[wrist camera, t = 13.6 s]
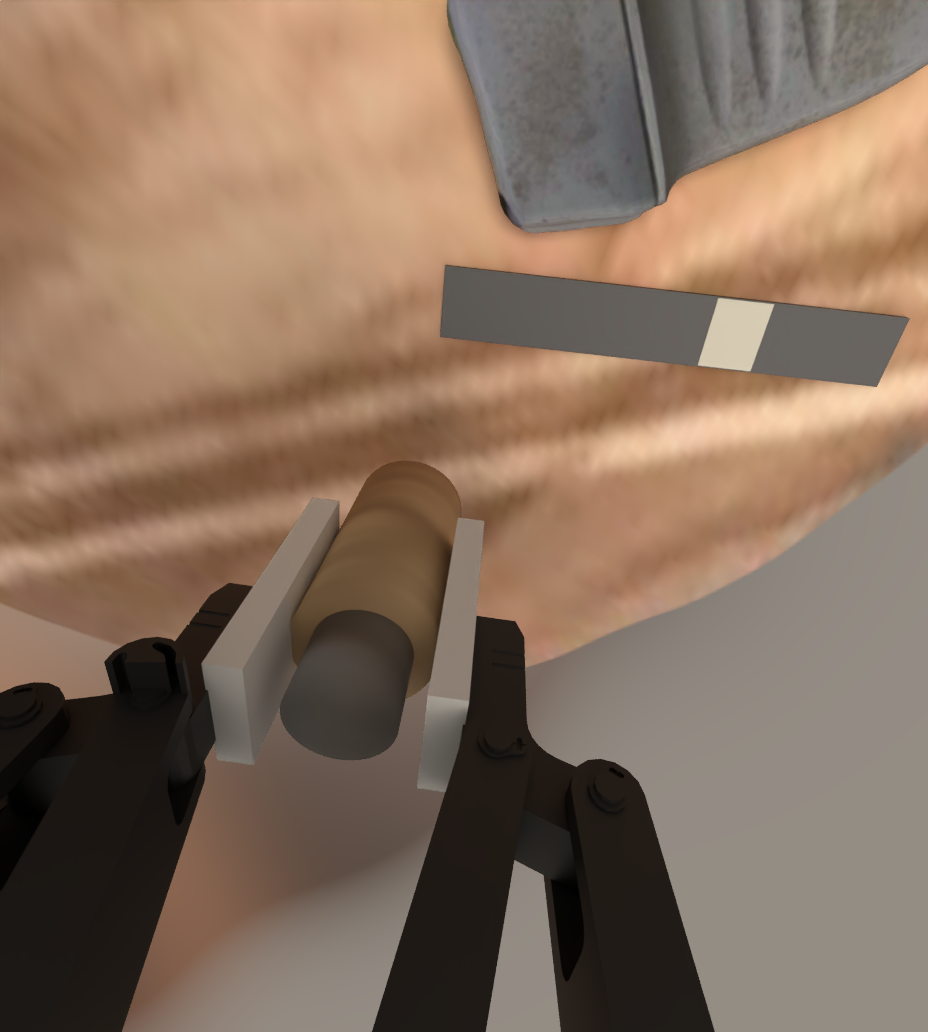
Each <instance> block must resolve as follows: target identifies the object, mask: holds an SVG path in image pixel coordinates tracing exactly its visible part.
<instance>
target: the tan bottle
mask: <svg viewBox="0 0 928 1032" xmlns="http://www.w3.org/2000/svg"><path fill="white" fill-rule="evenodd" d="M458 518H461V502H460V498H459V495H458V493H457V491H456V489H455V487H454V486H453V484H452V483H451V482H450V480H449V479H448V478H447V477H446V476H445V475H443V474H442V473H441V472H440V471H438V470H436V469H435V468H433V467H431V466H429V465H426V464H423V463H419V462H414V461H398V462H393V463H390V464H387V465H384V466H382V467H380V468H379V469H377V470H376V471H375V472H373V473H372V474H371V475H370V476H369V478H368V479H367V480H366V482H365V483H364V485H363V487H362V489H361V491H360V493H359V494H358V496H357V498H356V500H355V502H354V504H353V506H352V508H351V510H350V511H349V513H348V515H347V517H346V519H345V521H344V523H343V525H342V526H341V528H340V530H339V532H338V534H337V536H336V538H335V540H334V542H333V543H332V545H331V547H330V549H329V551H328V553H327V555H326V557H325V558H324V560H323V562H322V564H321V566H320V568H319V570H318V572H317V574H316V575H315V577H314V579H313V581H312V583H311V585H310V587H309V589H308V590H307V592H306V594H305V596H304V598H303V600H302V602H301V604H300V605H299V607H298V609H297V611H296V613H295V615H294V617H293V619H292V621H291V641H292V658H293V660H294V662H295V664H296V665H297V668H296V671H295V673H294V675H293V677H292V679H291V681H290V684H289V686H288V688H287V690H286V692H285V694H284V696H283V699H282V701H281V705H280V715H281V719H282V722H283V725H284V726H285V728H286V730H287V731H288V733H289V734H290V735H291V736H292V737H293V738H294V739H295V740H296V741H297V742H299V743H300V744H301V745H303V746H304V747H306V748H307V749H309V750H311V751H313V752H315V753H317V754H320V755H323V756H327V757H330V758H334V759H341V760H361V759H367V758H370V757H373V756H376V755H378V754H381V753H382V752H384V751H385V750H387V749H388V748H389V747H390V746H391V745H392V744H393V742H394V741H395V739H396V737H397V735H398V730H399V726H400V721H401V716H402V712H403V707H404V702H405V699H406V698H408V697H410V696H412V695H414V694H416V693H417V692H419V691H420V690H421V689H422V688H424V687H425V686H426V684H427V683H428V682H429V681H430V679H431V674H432V668H433V662H434V657H435V651H436V645H437V639H438V633H439V627H440V621H441V615H442V609H443V603H444V598H445V592H446V586H447V580H448V574H449V568H450V562H451V556H452V550H453V544H454V538H455V533H456V527H457V521H458Z"/></svg>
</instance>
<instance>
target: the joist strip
mask: <svg viewBox="0 0 928 1032" xmlns="http://www.w3.org/2000/svg"><path fill="white" fill-rule="evenodd" d="M909 319H910V318H907V317H901V316H892V315H883V314H874V313H865V312H856V311H848V310H839V309H830V308H821V307H812V306H803V305H795V304H786V303H777V302H768V301H759V300H751V299H742V298H733V297H724V296H715V295H706V294H698V293H689V292H680V291H671V290H662V289H653V288H645V287H636V286H627V285H618V284H609V283H600V282H592V281H583V280H574V279H565V278H556V277H547V276H539V275H530V274H521V273H512V272H503V271H494V270H486V269H477V268H468V267H459V266H450V265H446V266H445V279H444V293H443V306H442V320H441V334H440V337H445V338H454V339H463V340H471V341H480V342H489V343H498V344H506V345H515V346H524V347H533V348H541V349H550V350H559V351H568V352H576V353H585V354H594V355H603V356H611V357H620V358H629V359H638V360H646V361H655V362H664V363H672V364H681V365H690V366H699V367H707V368H716V369H725V370H734V371H742V372H751V373H760V374H769V375H777V376H786V377H795V378H804V379H812V380H821V381H830V382H839V383H847V384H856V385H865V386H874V387H877V385H878V383H879V381H880V379H881V377H882V375H883V373H884V371H885V369H886V367H887V365H888V363H889V360H890V358H891V356H892V354H893V352H894V350H895V348H896V346H897V344H898V342H899V340H900V338H901V336H902V333H903V331H904V329H905V327H906V325H907V323H908V321H909Z"/></svg>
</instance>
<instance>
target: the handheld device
mask: <svg viewBox="0 0 928 1032" xmlns="http://www.w3.org/2000/svg"><path fill="white" fill-rule="evenodd" d="M447 17H448V25H449V28H450V31H451V34H452V38H453V41H454V43H455V45H456V48H457V50H458V52H459V54H460V57H461V59H462V62H463V65H464V67H465V70H466V73H467V76H468V78H469V81H470V84H471V87H472V90H473V93H474V96H475V100H476V103H477V106H478V110H479V114H480V118H481V123H482V128H483V132H484V137H485V142H486V146H487V149H488V153H489V157H490V160H491V164H492V167H493V170H494V175H495V179H496V184H497V189H498V193H499V198H500V203H501V206H502V209H503V211H504V213H505V214H506V216H507V217H508V218H509V219H510V220H511V222H512V223H513V224H514V225H516V226H517V227H519V228H520V229H522V230H524V231H526V232H530V233H542V232H554V231H567V230H577V229H583V228H589V227H599V226H607V225H614V224H621V223H626V222H629V221H632V220H634V219H636V218H638V217H640V216H641V214H642V213H643V212H645V211H647V210H650V209H652V208H653V207H655V206H658V205H662V204H663V203H665V202H666V201H667V197H668V194H669V191H670V189H671V188H672V186H673V185H674V184H675V182H676V181H677V180H678V179H680V178H681V177H682V176H684V175H686V174H689V173H691V172H693V171H695V170H698V169H700V168H703V167H705V166H708V165H710V164H712V163H715V162H717V161H720V160H722V159H724V158H727V157H729V156H732V155H734V154H737V153H739V152H742V151H745V150H747V149H750V148H752V147H755V146H757V145H760V144H762V143H765V142H767V141H770V140H772V139H775V138H777V137H779V136H782V135H784V134H787V133H789V132H792V131H794V130H797V129H799V128H802V127H804V126H807V125H809V124H812V123H814V122H817V121H819V120H822V119H824V118H827V117H829V116H832V115H834V114H836V113H839V112H841V111H843V110H846V109H848V108H850V107H852V106H855V105H857V104H859V103H861V102H863V101H865V100H867V99H869V98H871V97H873V96H875V95H877V94H879V93H881V92H883V91H885V90H886V89H888V88H890V87H892V86H893V85H895V84H897V83H899V82H900V81H902V80H904V79H905V78H907V77H909V76H910V75H912V74H913V73H915V72H916V71H918V70H920V69H921V68H923V67H924V66H926V65H927V64H928V0H447Z"/></svg>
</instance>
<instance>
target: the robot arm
mask: <svg viewBox="0 0 928 1032" xmlns="http://www.w3.org/2000/svg"><path fill="white" fill-rule="evenodd" d="M338 532H339V501H335V500H328V499H320V498H312V500H311V501H310V503H309V504H308V506H307V507H306V509H305V510H304V512H303V513H302V515H301V516H300V518H299V519H298V521H297V522H296V524H295V525H294V526H293V528H292V529H291V531H290V532H289V534H288V535H287V537H286V538H285V540H284V541H283V543H282V544H281V546H280V547H279V549H278V550H277V552H276V553H275V555H274V556H273V558H272V559H271V561H270V562H269V564H268V565H267V567H266V568H265V570H264V571H263V573H262V574H261V576H260V577H259V579H258V580H257V582H256V583H255V585H254V586H247V585H240V584H233V583H228V584H227V585H225V586H224V587H222V588H220V589H219V590H217V591H216V592H214V593H213V594H211V595H210V596H209V598H208V599H207V600H206V602H205V603H204V604H203V605H202V607H201V608H200V609H199V613H196V615H195V616H194V617H193V619H192V620H191V621H190V624H189V625H187V626H186V628H185V629H184V630H183V632H182V633H181V634H180V635H179V637H178V638H177V639H176V641H173V640H171V639H167V638H161V637H152V638H143V639H139V640H136V641H133V642H130V643H127V644H126V645H124V646H122V647H121V648H119V649H117V650H116V651H114V652H113V653H112V654H111V655H110V656H109V657H108V658H107V660H106V661H105V666H106V670H107V673H108V677H109V680H110V684H111V687H112V691H113V694H108V695H103V696H96V697H87V698H79V699H70V700H65V697H64V695H63V693H62V692H61V691H60V688H59V687H57V686H54V685H52V684H50V683H35V682H34V683H29V684H25V685H19V686H16V687H13V688H11V689H8V690H6V691H4V692H2V693H0V1032H122V1029H123V1026H124V1023H125V1020H126V1017H127V1014H128V1011H129V1008H130V1005H131V1002H132V999H133V996H134V993H135V990H136V987H137V984H138V981H139V977H140V975H141V972H142V969H143V966H144V963H145V960H146V957H147V954H148V951H149V948H150V945H151V941H152V938H153V935H154V932H155V929H156V926H157V923H158V920H159V917H160V914H161V911H162V908H163V905H164V902H165V899H166V896H167V893H168V890H169V887H170V884H171V881H172V878H173V875H174V872H175V869H176V866H177V863H178V860H179V857H180V854H181V851H182V848H183V845H184V842H185V839H186V836H187V833H188V830H189V826H190V823H191V821H192V817H193V814H194V811H195V808H196V805H197V802H198V799H199V796H200V793H201V790H202V787H203V784H204V781H205V772H206V769H205V764H204V761H205V759H206V757H207V755H208V753H209V751H210V750H211V748H212V746H213V744H215V750H216V755H217V760H223V761H229V762H236V763H244V764H251V765H253V764H254V762H255V760H256V758H257V756H258V754H259V752H260V749H261V747H262V745H263V743H264V741H265V738H266V736H267V734H268V732H269V730H270V728H271V725H272V723H273V721H274V719H275V717H276V714H277V712H278V710H279V708H280V705H281V701H282V699H283V696H284V694H285V692H286V690H287V688H288V686H289V684H290V681H291V679H292V677H293V675H294V673H295V671H296V668H297V665H296V664H295V662H294V660H293V658H292V641H291V621H292V619H293V617H294V615H295V613H296V611H297V609H298V607H299V605H300V604H301V602H302V600H303V598H304V596H305V594H306V592H307V590H308V589H309V587H310V585H311V583H312V581H313V579H314V577H315V575H316V574H317V572H318V570H319V568H320V566H321V564H322V562H323V560H324V558H325V557H326V555H327V553H328V551H329V549H330V547H331V545H332V543H333V542H334V540H335V538H336V536H337V534H338ZM483 532H484V521H480V520H473V519H466V518H458V521H457V527H456V533H455V538H454V544H453V550H452V556H451V562H450V568H449V574H448V580H447V586H446V592H445V598H444V603H443V609H442V615H441V621H440V627H439V633H438V639H437V645H436V651H435V657H434V662H433V668H432V674H431V680H430V686H429V692H428V700H427V707H426V716H425V724H424V733H423V741H422V742H423V743H422V750H421V758H420V767H419V775H418V783H417V784H418V785H417V788H421V789H428V790H436V791H442V792H445V795H444V799H443V802H442V805H441V809H440V812H439V815H438V818H437V821H436V825H435V828H434V831H433V834H432V838H431V841H430V844H429V848H428V851H427V854H426V857H425V861H424V864H423V867H422V870H421V874H420V877H419V880H418V883H417V887H416V890H415V893H414V896H413V900H412V903H411V906H410V910H409V913H408V916H407V919H406V923H405V926H404V929H403V933H402V936H401V939H400V942H399V945H398V949H397V952H396V955H395V959H394V962H393V965H392V968H391V972H390V975H389V978H388V981H387V985H386V988H385V991H384V994H383V998H382V1001H381V1004H380V1007H379V1011H378V1014H377V1017H376V1021H375V1024H374V1027H373V1030H372V1032H486V1026H487V1020H488V1014H489V1008H490V1002H491V996H492V990H493V984H494V978H495V972H496V966H497V960H498V954H499V948H500V942H501V936H502V930H503V924H504V918H505V912H506V906H507V900H508V894H509V888H510V882H511V876H512V870H513V864H514V860H516V861H518V862H520V863H522V864H524V865H525V866H527V867H529V868H531V869H533V870H535V871H537V872H539V873H541V874H543V875H544V882H545V891H546V899H547V909H548V918H549V927H550V936H551V944H552V945H551V946H552V955H553V964H554V973H555V981H556V990H557V999H558V1009H559V1018H560V1027H561V1032H714V1028H713V1025H712V1021H711V1018H710V1014H709V1011H708V1007H707V1004H706V1001H705V997H704V994H703V991H702V988H701V984H700V980H699V977H698V974H697V970H696V967H695V964H694V960H693V957H692V953H691V950H690V947H689V943H688V940H687V936H686V933H685V929H684V926H683V923H682V919H681V916H680V913H679V909H678V906H677V903H676V899H675V896H674V892H673V889H672V885H671V882H670V879H669V875H668V872H667V869H666V865H665V862H664V858H663V855H662V852H661V848H660V845H659V841H658V838H657V834H656V831H655V828H654V824H653V821H652V818H651V815H650V811H649V808H648V804H647V801H646V798H645V794H644V792H643V790H642V788H641V786H640V784H639V782H638V781H637V780H636V779H635V778H634V777H633V776H632V775H631V773H630V772H628V770H626V769H624V768H623V767H621V766H619V765H618V764H616V763H614V762H611V761H606V760H602V759H595V760H587V761H586V762H584V763H582V764H580V765H579V766H577V767H575V766H573V765H571V764H568V763H566V762H564V761H561V760H559V759H557V758H555V757H554V756H552V755H550V754H548V753H547V752H546V751H544V750H543V749H542V748H541V747H540V746H538V744H537V743H536V742H535V741H534V739H533V738H532V736H531V734H530V732H529V730H528V725H527V718H526V688H525V685H526V684H525V657H524V654H525V650H524V636H523V634H522V632H521V631H520V629H519V627H518V625H517V624H516V622H515V621H509V620H502V619H495V618H487V617H480V616H476V615H477V603H478V591H479V579H480V567H481V556H482V544H483Z"/></svg>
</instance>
